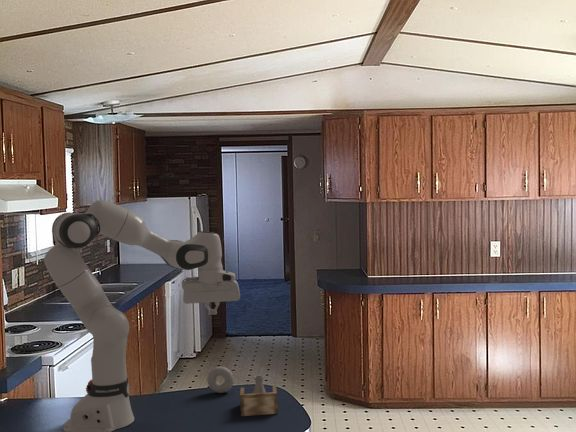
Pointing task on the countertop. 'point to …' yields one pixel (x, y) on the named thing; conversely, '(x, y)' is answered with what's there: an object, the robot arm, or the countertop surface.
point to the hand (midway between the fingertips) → (212, 314)
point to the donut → (214, 384)
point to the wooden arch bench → (258, 403)
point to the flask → (259, 384)
